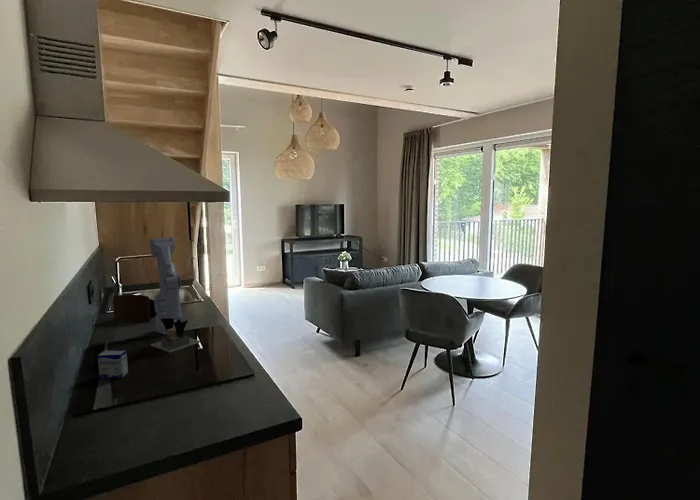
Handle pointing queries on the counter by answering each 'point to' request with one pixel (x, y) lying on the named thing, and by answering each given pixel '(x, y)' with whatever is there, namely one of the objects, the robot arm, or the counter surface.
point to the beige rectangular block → (172, 334)
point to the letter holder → (133, 308)
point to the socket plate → (174, 344)
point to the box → (112, 364)
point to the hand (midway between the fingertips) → (175, 335)
